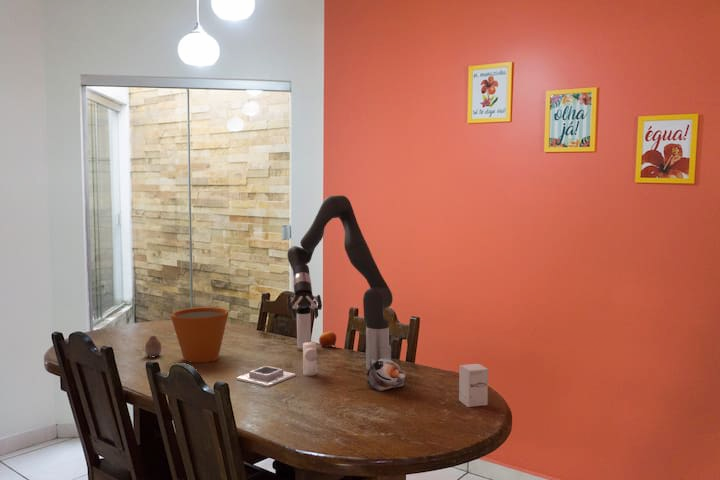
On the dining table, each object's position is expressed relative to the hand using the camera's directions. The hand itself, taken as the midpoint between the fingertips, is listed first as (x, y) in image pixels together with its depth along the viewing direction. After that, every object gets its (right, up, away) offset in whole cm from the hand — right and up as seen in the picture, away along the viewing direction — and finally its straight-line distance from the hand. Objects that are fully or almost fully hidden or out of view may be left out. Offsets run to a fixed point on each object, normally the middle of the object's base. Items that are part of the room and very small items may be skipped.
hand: (305, 317), depth 249 cm
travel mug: (-3, -18, +27) cm, 33 cm away
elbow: (+3, -21, -11) cm, 24 cm away
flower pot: (-46, -19, +13) cm, 52 cm away
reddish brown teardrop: (-68, -19, +16) cm, 72 cm away
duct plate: (-14, -21, -14) cm, 29 cm away
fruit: (+7, -17, +32) cm, 38 cm away
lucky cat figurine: (+32, -22, -26) cm, 47 cm away
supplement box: (+61, -24, -43) cm, 78 cm away
